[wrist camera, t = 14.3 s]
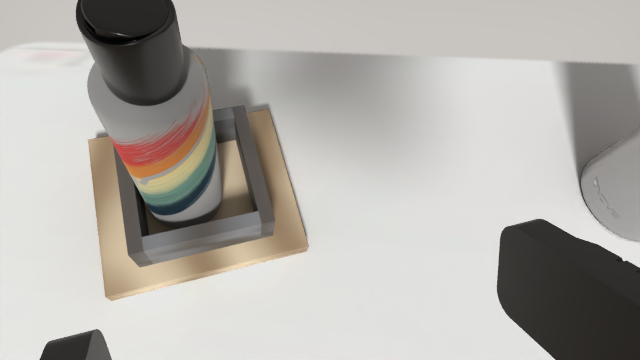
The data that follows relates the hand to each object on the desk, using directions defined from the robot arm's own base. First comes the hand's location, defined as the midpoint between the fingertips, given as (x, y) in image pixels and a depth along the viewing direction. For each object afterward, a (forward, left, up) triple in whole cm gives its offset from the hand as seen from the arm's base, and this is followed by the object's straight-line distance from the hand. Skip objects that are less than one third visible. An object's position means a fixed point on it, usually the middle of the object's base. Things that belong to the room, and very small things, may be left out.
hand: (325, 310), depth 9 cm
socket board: (+3, -14, -26) cm, 30 cm away
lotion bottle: (+3, -14, -25) cm, 29 cm away
